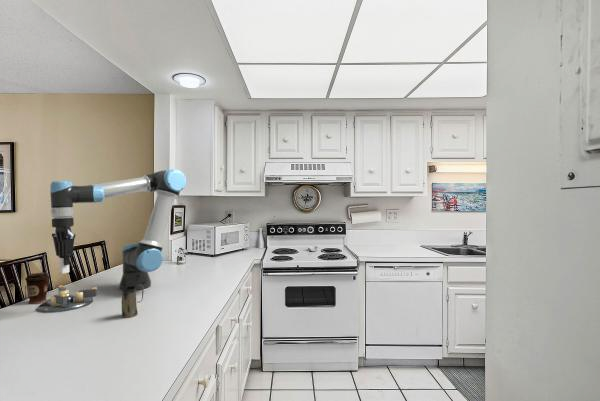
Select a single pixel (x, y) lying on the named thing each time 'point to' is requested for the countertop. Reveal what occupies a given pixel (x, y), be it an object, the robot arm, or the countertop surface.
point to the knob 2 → (58, 300)
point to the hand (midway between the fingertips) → (65, 272)
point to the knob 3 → (85, 294)
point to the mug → (129, 301)
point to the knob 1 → (62, 290)
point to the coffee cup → (37, 287)
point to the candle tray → (69, 306)
